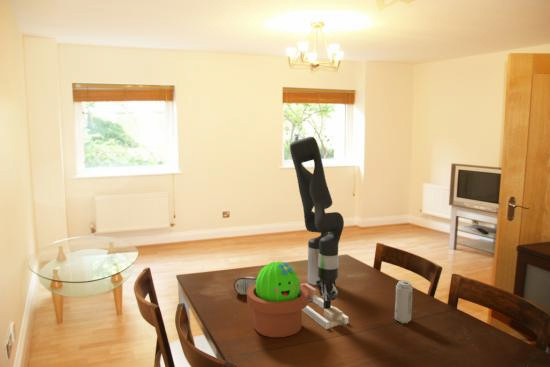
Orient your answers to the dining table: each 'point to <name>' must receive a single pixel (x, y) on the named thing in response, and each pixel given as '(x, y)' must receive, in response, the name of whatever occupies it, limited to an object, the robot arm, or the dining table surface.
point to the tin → (244, 283)
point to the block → (333, 316)
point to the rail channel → (320, 302)
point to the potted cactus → (277, 300)
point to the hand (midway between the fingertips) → (326, 308)
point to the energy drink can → (403, 301)
